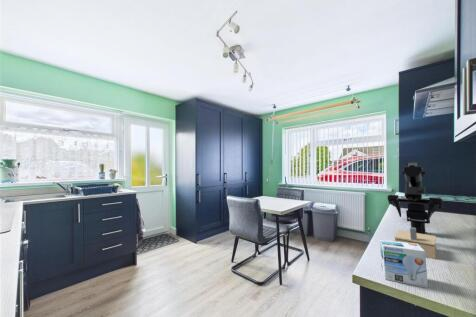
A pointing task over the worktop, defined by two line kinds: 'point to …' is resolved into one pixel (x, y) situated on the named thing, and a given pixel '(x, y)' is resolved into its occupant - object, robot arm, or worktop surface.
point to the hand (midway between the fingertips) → (413, 218)
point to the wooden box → (429, 249)
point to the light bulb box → (403, 262)
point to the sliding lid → (415, 237)
